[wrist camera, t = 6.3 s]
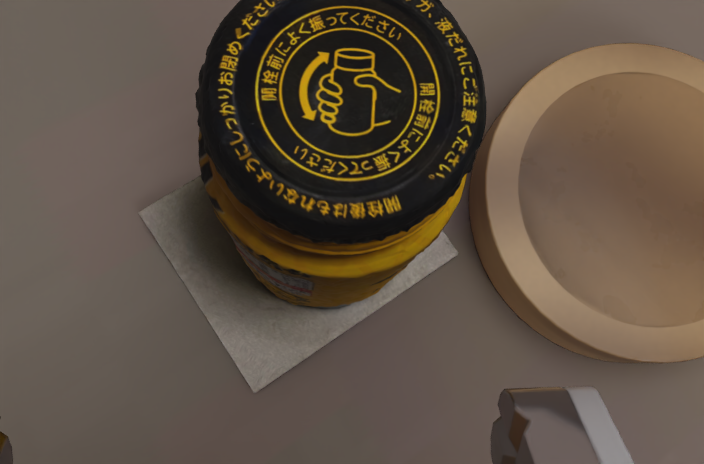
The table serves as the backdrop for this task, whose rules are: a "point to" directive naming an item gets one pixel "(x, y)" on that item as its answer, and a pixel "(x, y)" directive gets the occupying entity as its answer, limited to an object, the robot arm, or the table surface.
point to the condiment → (320, 169)
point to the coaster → (600, 203)
